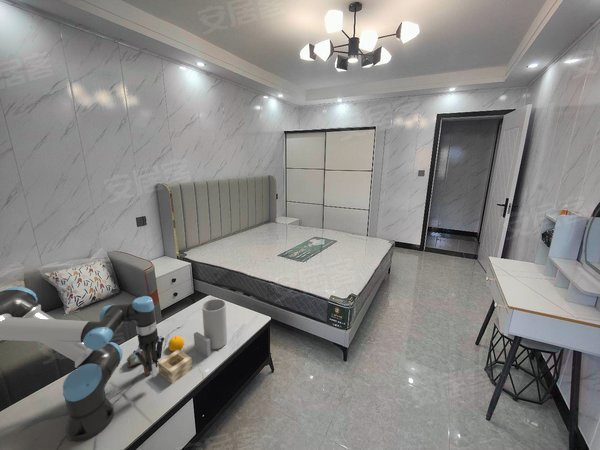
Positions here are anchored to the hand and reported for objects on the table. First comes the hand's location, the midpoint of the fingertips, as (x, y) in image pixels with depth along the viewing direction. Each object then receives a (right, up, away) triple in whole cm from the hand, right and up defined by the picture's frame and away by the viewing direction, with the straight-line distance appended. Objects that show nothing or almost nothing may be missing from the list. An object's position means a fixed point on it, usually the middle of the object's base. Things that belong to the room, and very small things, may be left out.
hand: (153, 374), depth 121 cm
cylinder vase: (+18, 0, +33) cm, 38 cm away
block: (+5, -4, +11) cm, 13 cm away
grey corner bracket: (+7, -5, +13) cm, 15 cm away
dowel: (-7, -5, +9) cm, 13 cm away
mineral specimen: (-16, -3, +18) cm, 24 cm away
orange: (-2, -1, +27) cm, 27 cm away
